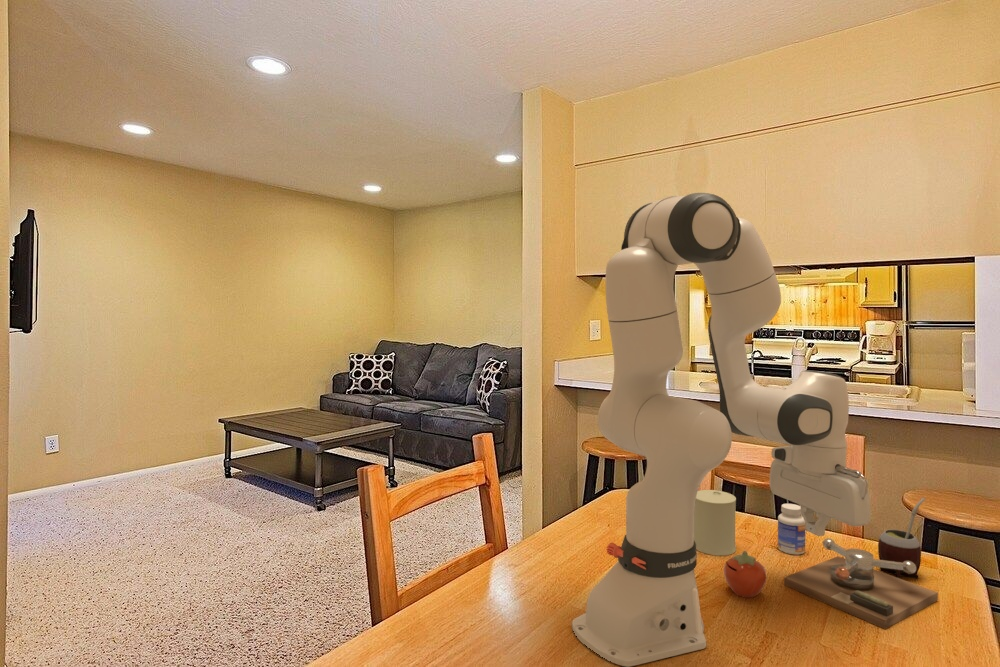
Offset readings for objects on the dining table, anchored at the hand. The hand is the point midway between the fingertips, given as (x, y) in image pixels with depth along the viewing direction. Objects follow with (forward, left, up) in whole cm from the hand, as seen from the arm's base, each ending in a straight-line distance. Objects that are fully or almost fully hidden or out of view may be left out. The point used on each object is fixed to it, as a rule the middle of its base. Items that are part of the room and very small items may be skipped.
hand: (814, 533), depth 107 cm
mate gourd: (+23, -4, -12) cm, 26 cm away
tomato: (-10, +7, -12) cm, 17 cm away
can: (+2, +24, -12) cm, 27 cm away
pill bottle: (+15, +14, -12) cm, 24 cm away
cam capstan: (+6, -4, -10) cm, 12 cm away
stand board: (+8, -4, -12) cm, 15 cm away
